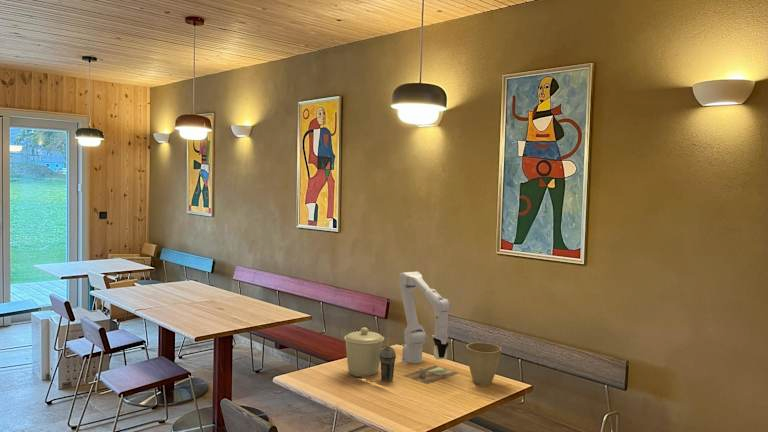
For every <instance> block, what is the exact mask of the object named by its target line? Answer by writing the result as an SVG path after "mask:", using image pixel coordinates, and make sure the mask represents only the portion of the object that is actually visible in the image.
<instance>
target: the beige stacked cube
mask: <svg viewBox="0 0 768 432" xmlns="http://www.w3.org/2000/svg"><path fill="white" fill-rule="evenodd" d="M433 357H434V358H435V360H447V359H448V347H447V348H446V351H445V355H444V358H439V354H438V347H437V345H435V344H434V345H433Z"/></svg>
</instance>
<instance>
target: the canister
mask: <svg viewBox="0 0 768 432" xmlns="http://www.w3.org/2000/svg"><path fill="white" fill-rule="evenodd" d="M343 339H344V341H345V350H346V351H345V352H346V360H347V361H346V362H347V363H346V364H347V369H348V372H349V374H350V375H352V376H354V377H359V378H361V377H364V376H365V377H368V376H373V375H377V373H379V370H380V369H379V368H380V365H381V362H380V357H379V355H380V352H381V350H382V349H383V342H384V340H385V337H384V336H383V335H381V334H380V333H377V332H374V331H370V330H369V328H367V327H365V326H364V327H362V328H360V331H352V332H350V333H348V334H346V335H345V336H344V337H343Z"/></svg>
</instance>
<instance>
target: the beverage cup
mask: <svg viewBox="0 0 768 432" xmlns="http://www.w3.org/2000/svg"><path fill="white" fill-rule="evenodd" d="M389 339H390V338H389V336H387V340H386V342H387V343H386V346H384V347H382V350H381V352H380V355H379V357H380V373H381V374H380V376H381V381H382V382H386V383H387V382H388V383H389V382H392V381H393V379H394V370H395V363H396V358H397V353H396V351H395V349H394V348H393V347H391V346H389V344H390V343H389Z"/></svg>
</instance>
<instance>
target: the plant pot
mask: <svg viewBox="0 0 768 432" xmlns="http://www.w3.org/2000/svg"><path fill="white" fill-rule="evenodd" d="M501 352H502V347H500V346H499V345H497V344H493V343H490V342H488V343H487V342H471V343H468V344H466V354H467V361H468V366H469V371H470V374H471V378H472V380H473V382H475V383H474V384H475V385H476V386H479V387H480V386H481V387H488V386H491V384H492V382H493V380H494V378H495V375H496V373H497V369H498V366H499V363H500V359H501Z"/></svg>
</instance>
